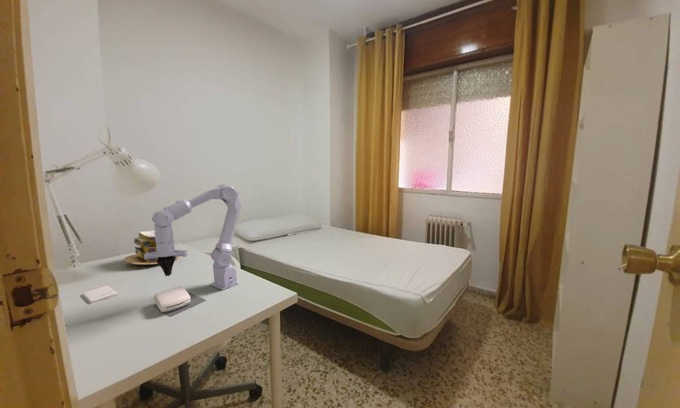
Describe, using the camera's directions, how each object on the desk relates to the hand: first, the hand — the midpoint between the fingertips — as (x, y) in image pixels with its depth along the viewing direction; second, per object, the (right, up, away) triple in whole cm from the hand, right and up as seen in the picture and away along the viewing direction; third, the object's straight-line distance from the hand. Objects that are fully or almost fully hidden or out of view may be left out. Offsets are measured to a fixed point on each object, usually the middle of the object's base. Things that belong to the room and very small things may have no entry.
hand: (168, 274), depth 103 cm
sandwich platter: (-37, -4, +44) cm, 58 cm away
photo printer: (0, -8, +1) cm, 8 cm away
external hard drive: (-31, -10, +5) cm, 33 cm away
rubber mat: (+6, -10, -2) cm, 12 cm away
